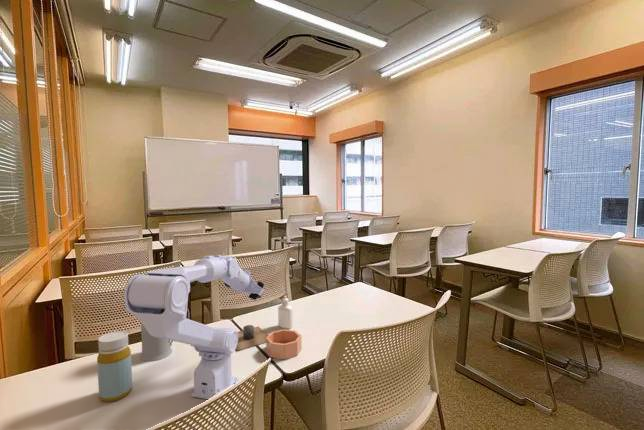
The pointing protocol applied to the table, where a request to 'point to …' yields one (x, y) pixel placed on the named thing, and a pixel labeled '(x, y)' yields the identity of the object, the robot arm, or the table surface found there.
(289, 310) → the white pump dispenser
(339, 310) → the table surface
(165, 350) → the glass holder
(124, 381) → the bottle
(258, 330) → the lid
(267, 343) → the bowl
